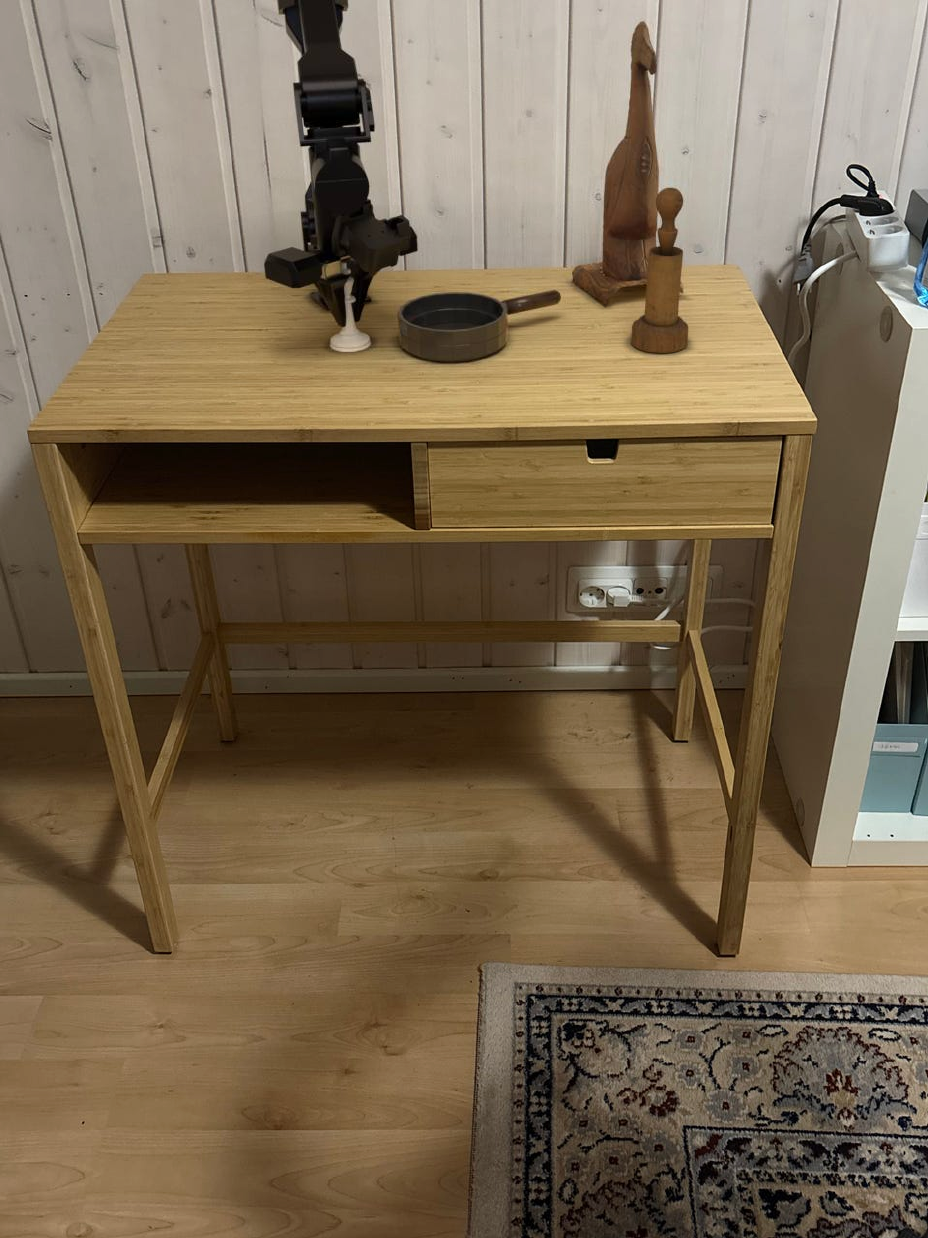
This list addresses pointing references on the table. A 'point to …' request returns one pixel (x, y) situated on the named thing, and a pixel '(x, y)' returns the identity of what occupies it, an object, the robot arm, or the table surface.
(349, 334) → the chess piece
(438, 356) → the pan
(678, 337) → the mortar and pestle
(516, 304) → the pan handle
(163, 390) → the table surface
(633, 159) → the bird sculpture
